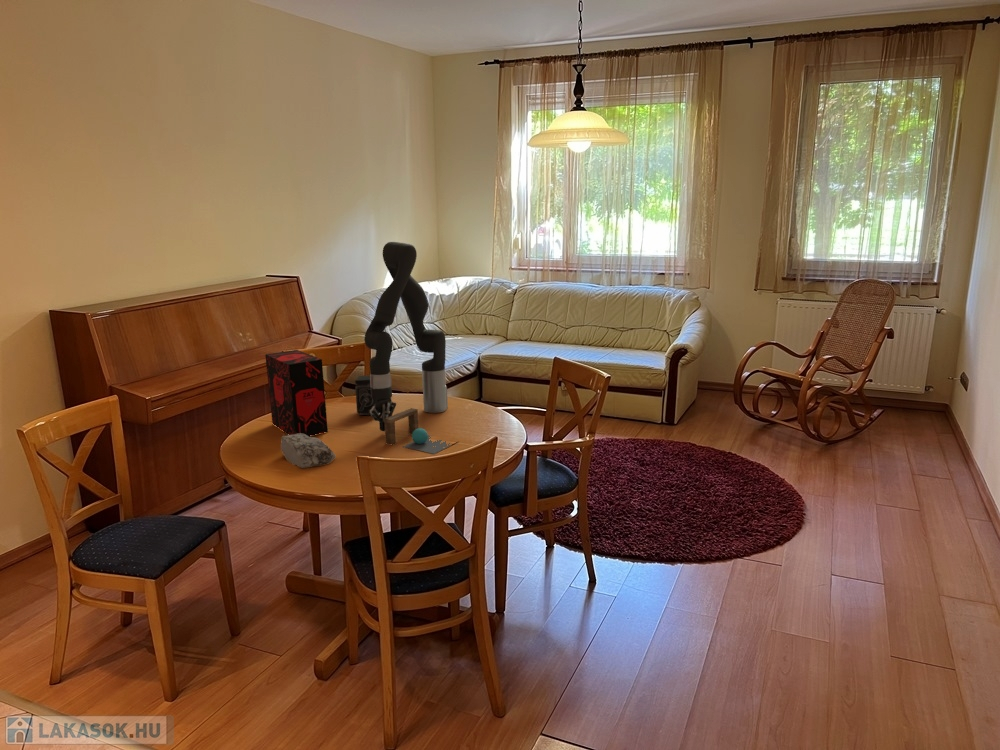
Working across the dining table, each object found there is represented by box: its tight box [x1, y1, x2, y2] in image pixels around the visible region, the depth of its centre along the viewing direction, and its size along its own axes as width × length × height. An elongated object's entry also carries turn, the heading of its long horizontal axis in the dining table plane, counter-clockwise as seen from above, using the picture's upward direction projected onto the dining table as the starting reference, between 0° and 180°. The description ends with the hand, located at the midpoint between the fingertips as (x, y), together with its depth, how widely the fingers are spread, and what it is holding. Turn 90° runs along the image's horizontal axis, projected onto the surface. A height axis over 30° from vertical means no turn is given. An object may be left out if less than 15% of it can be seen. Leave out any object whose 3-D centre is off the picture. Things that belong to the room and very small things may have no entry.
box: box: [264, 349, 329, 437], centre depth 261 cm, size 23×12×28 cm, turn 38°
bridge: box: [384, 407, 419, 446], centre depth 250 cm, size 3×15×9 cm, turn 147°
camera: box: [354, 374, 373, 416], centre depth 281 cm, size 10×11×15 cm
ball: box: [411, 427, 429, 444], centre depth 244 cm, size 6×6×6 cm
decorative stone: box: [280, 433, 337, 469], centre depth 231 cm, size 20×14×10 cm
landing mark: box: [402, 434, 451, 455], centre depth 244 cm, size 14×14×1 cm
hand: (383, 430), depth 255 cm, fingers closed
